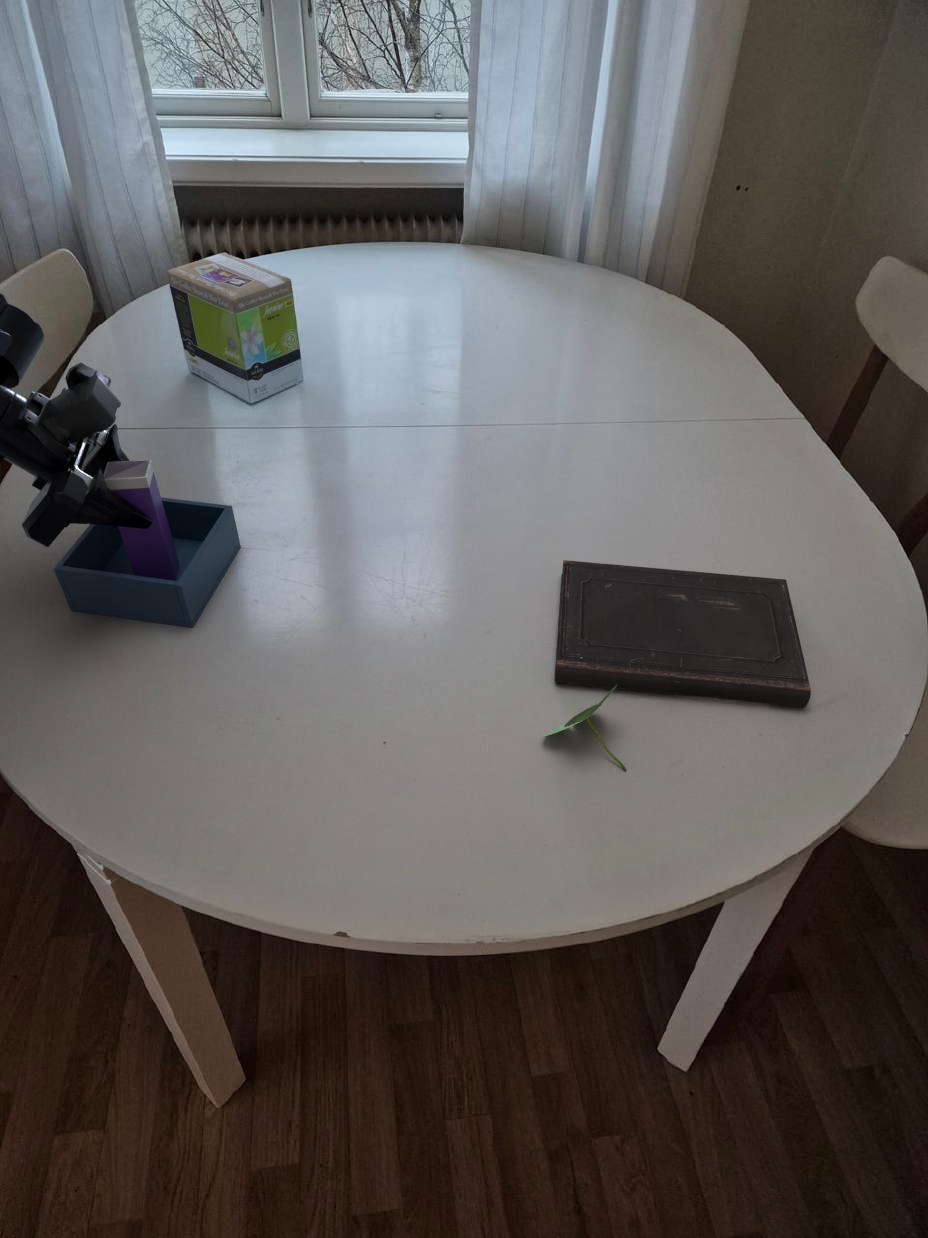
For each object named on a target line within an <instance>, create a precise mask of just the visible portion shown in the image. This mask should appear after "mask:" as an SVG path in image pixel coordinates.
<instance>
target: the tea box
mask: <svg viewBox="0 0 928 1238" xmlns="http://www.w3.org/2000/svg"><path fill="white" fill-rule="evenodd" d="M166 275H167V279H168V284H169V285H168V286H169V290H170V295H171V298H172V302H173V307H174V312H175V316H176V320H177V325H178V330H179V335H180V339H181V342H182V347H183V352H184V358H185V361H186V364H187V369H188V371H189V372H192V373H193V374H195V375H197V376H199V377H201V378H202V379H204V380H207V381H208V382H210V383H212V384H214V385H216V386H217V387H220V388H221V389H223V390H225V391H227V392H228V393H231V395H232V394H233V395H234V396H236V397H238V398H240V399H242V400H243V401H246V402H247V403H249V404H255V403H257V402H259V401H261V400H264V399H266V398H269V397H271V396H272V395H275V394H277V393H280V392H282V391H283V390H286V389H289V388H291V387H293V386H295V385H297V384H299V383H301V382H303V381H304V371H303V363H302V362H303V361H302V355H301V354H302V353H301V346H300V345H301V344H300V339H299V332H298V321H297V313H296V307H295V299H294V290H293V284H292V283H293V282H292V279H291V278H289V277H288V276H285V275H282V274H280V273H277V272H275V271H272V270H269V269H267V268H265V267H263V266H262V267H261V266H260V265H257V264H254V263H252V262H251V261H248V260H244V259H242V258H239V257H236V256H234V255H231V254H229V253H227V252H226V251H225V252H224V251H223V252H220V253H217V254H214V255H210V256H208V257H204V258H201V259H198V260H195V261H193V262H190V263H187V264H183V265H180V266H177V267H173V268H170V269H168V270H166Z"/></svg>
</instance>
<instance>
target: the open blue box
mask: <svg viewBox="0 0 928 1238" xmlns="http://www.w3.org/2000/svg"><path fill="white" fill-rule="evenodd" d="M161 500H162V503H163V507H164V510H165V514H166V517H167V521H168V524H169V528H170V531H171V535H172V539H173V542H174V546H175V549H176V553H177V556H178V560H179V568H178V573H177V578H176V581H172V580H164V579H157V578H149V577H142V576H135V575H134V572H133V569H132V566H131V563H130V560H129V557H128V554H127V551H126V548H125V545H124V542H123V539H122V536H121V533H120V530H119V527H118V526H111V525H100V524H88V526H87V527H86V529H84V531H83V532H82V533H81V535H80V536H79V537H78V538H77V540H76V541H74V543H73V545H72V546H71V547H70V548H69V549H68V551H67V552H66V553H65V554H64V555H63V557H61V559H60V560H59V561H58V563H57V564H56V565H55V566H54V567H53V571H54V574H55V576H56V578H57V581H58V583H59V585H60V588H61V590H62V593H63V595H64V598H65V600H66V602H67V605H68V607H69V610H70V611H71V612H79V613H86V614H92V615H99V616H106V617H114V618H120V619H121V618H122V619H127V620H128V619H129V620H135V621H144V622H150V623H158V624H164V625H171V626H172V625H173V626H177V627H186V628H194V626H195V625H196V623H197V621H198V619H199V618H200V616H201V614H202V613H203V611H204V610H205V608H206V607H207V604H209V601H210V599H211V598H212V596H213V594H214V592H215V591H216V590H217V588H218V586H219V585H220V583H221V581H222V579H223V578H224V576H225V574H226V573H227V571H228V569H229V568H230V566H231V564H232V562H233V561H234V559H235V557H236V556H237V554H238V553H239V551H240V549H241V548H242V547H241V541H240V537H239V532H238V527H237V523H236V518H235V515H234V514H235V513H234V508H233V505H229V504H228V505H227V504H221V503H213V502H212V503H211V502H203V501H194V500H188V499H178V498H171V497H164V496H163V497H162V496H161Z"/></svg>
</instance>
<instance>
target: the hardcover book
mask: <svg viewBox="0 0 928 1238" xmlns="http://www.w3.org/2000/svg"><path fill="white" fill-rule="evenodd" d="M560 577H561V578H560V591H559V605H558V606H559V607H558V620H557V621H558V622H557V637H556V650H555V665H554V679H553V680H554V683H556V684H564V685H565V684H566V685H574V686H575V685H576V686H584V687H585V686H586V687H597V688H606V689H607V688H608V689H613V688H614V687H615V686H616V685H617V684H618V685H617V687H616V688H615V689H614V690H616V689H617V690H625V691H637V692H647V693H655V694H665V695H666V694H667V695H677V696H688V697H697V698H707V699H716V700H717V699H718V700H728V701H737V702H747V703H758V704H768V705H779V706H788V707H790V706H791V707H798V708H806V707H807V706H808V704H809V702H810V700H811V695H812V694H811V693H812V690H811V683H810V680H809V676H808V672H807V666H806V663H805V658H804V653H803V649H802V644H801V639H800V636H799V630H798V626H797V622H796V617H795V613H794V609H793V608H794V607H793V603H792V598H791V595H790V591H789V586H788V581H787V579H785V578H772V577H761V576H750V575H739V574H728V573H727V574H726V573H716V572H715V573H714V572H705V571H692V570H681V569H680V570H679V569H670V568H658V567H647V566H636V565H624V564H612V563H602V562H590V561H589V562H588V561H577V560H569V559H568V560H567V559H563V560H562V572H561V576H560Z"/></svg>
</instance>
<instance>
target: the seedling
mask: <svg viewBox="0 0 928 1238" xmlns="http://www.w3.org/2000/svg"><path fill="white" fill-rule="evenodd" d="M617 685H618V684H617ZM617 685H616V686H615V687H614V688H611V690H609V691H608V693H607V694H606V695H604V697H603V698H602V699H601V700H600V701H599V702H598V703H596V704H594V705H592V706H590V707H588V708H586V709H584V710H582V711H580V712H579V713H577V714H576V715H575V716H573V717H571V719H569V721H567V722H566V723H564V724H563V725H560V726H557V727H556V728H554V729H552V730H549V731H547V732H546V733H544V734H543V735H542V736H541V737H547V736H551V735H553V734H556V733H559V732H561V731H563V730H566V729H568V728H571V727H573V726H575V725H576V724H577V725H578V724H579V723H581V722H583V721H585V720H586V721H587V723H588V725H589V726H590V727H591V729H592V730H593V731H594V733H595V735H596V736H597V737H598V739H599V741H600V743H601V745H602V746H603V748H604V749H605V751H606V753H607V754H608V755H609V756H610V757H611V758H613V760H615V761H616V763H617V764H618V765H620V767H621V768H622V769H623V771H624V772H626V771H627V768H626V767H625V765H624V763H622V762H621V760H620V759H618V757H616V756H615V755H614V754H613V753H612V752H611V751H610V750H609V748H608V746H607V745H606V742H605V741H604V740H603V738H602V736H601V735H600V733H599V732H598V730H597V729H596V728H595V726H594V725H593V723H592V722H591V720H590V719H589V718H591V716H592V715H593V714H594V713H595V712H596V711H598V710H599V709H600V708H601V707H602V706H603V705H604V704H605V701H606V700H607V699H608V697H609V696H611V694H612V693H613V691H615V690H616V689H615V688H616V687H617Z"/></svg>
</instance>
